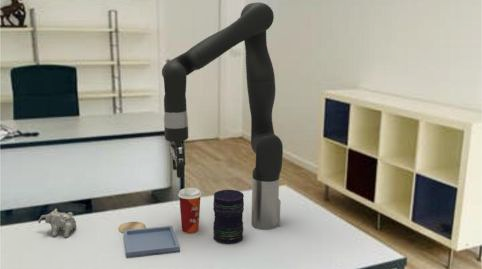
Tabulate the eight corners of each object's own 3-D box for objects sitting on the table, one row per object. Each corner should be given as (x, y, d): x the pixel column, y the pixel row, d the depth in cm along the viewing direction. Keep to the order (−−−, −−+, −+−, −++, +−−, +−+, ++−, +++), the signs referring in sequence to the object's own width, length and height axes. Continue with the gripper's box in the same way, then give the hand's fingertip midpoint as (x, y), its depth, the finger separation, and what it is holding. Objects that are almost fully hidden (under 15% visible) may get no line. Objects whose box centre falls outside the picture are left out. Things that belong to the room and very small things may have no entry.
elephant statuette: (75, 238, 156) (75, 216, 154) (35, 240, 152) (35, 217, 151) (76, 227, 164) (76, 206, 163) (39, 229, 161) (38, 207, 159)
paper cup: (197, 235, 158) (197, 196, 155) (175, 233, 160) (175, 194, 156) (204, 226, 166) (204, 188, 162) (183, 224, 167) (182, 186, 164)
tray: (172, 230, 162) (172, 225, 162) (179, 251, 147) (179, 246, 147) (123, 235, 158) (123, 230, 157) (126, 258, 143) (126, 252, 142)
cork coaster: (144, 221, 168) (144, 220, 168) (146, 232, 160) (146, 231, 160) (117, 224, 166) (117, 223, 166) (118, 235, 158) (118, 233, 157)
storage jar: (249, 239, 156) (250, 196, 153) (224, 247, 151) (225, 202, 147) (231, 228, 164) (231, 187, 161) (207, 236, 158) (207, 193, 155)
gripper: (191, 128, 147) (193, 178, 151) (183, 119, 160) (185, 166, 164) (167, 130, 145) (169, 181, 149) (161, 121, 158) (163, 168, 162)
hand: (178, 173), depth 156 cm, fingers open, 8 cm apart
